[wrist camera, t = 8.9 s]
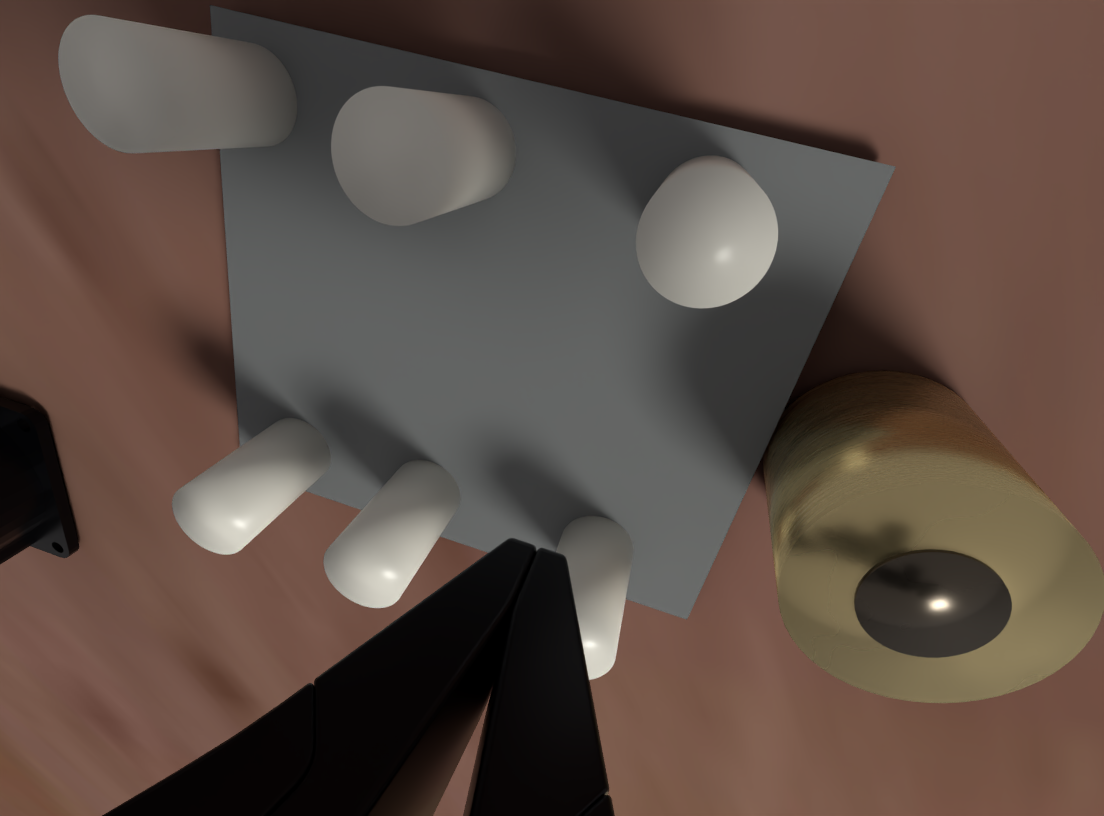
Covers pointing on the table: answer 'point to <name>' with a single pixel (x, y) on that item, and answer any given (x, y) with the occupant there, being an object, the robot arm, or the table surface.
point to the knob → (920, 545)
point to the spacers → (398, 200)
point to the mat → (525, 312)
